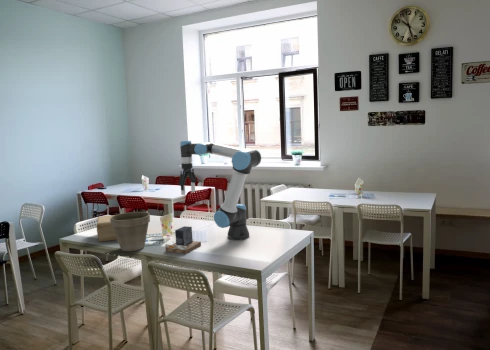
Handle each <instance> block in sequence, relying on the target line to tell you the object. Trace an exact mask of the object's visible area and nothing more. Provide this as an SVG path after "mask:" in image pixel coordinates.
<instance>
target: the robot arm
mask: <svg viewBox="0 0 490 350" xmlns="http://www.w3.org/2000/svg"><path fill="white" fill-rule="evenodd" d="M179 144H180V160H181V169H182V170H180V175H179V180H178V186H180V194H181V196H186V186H185V183H186V180H187V178H189V180H190V192H193V193H194V192H196V184H195V183H197V177H196V174H195V169H194V168H193V155H195V156H196V155H199V156H202V155H205V154H206V155H207V154H211V155H216V156H219V157H224V158H225V157H226V158H228V159H231V163H232V170H233V173H232V175H231V178H230V182H229V185H228V189H227V192H226V195H225V198H224V201H223V203H221V204H220V206H219V209H218V210H217V211H215V213H214V214H213V219H214V220H213V221H214V223H215V224H216V226H217V227H219V228H222V229H224V228H228V231H227V238H228V239H229V240H235V241H237V240H240V239H241V240H246V239H249V238H250V232H249V229H248V226H247V207H246V205H245V204H243V203H239V200H240V196H241V193H242V190H243V188H244V185H245V182H246V178H247V176H248V175H250V174H251V171H252V168H255V167H257V166H259V165H260V163H261V161H262V155H261V152H260V151H258V150H257V149H255V148H240V147H234V146H229V145H225V144H224V145H223V144H219V143H216V142H214V141H209V142H200V143H192V141H191V140H181V141H180V143H179ZM248 237H249V238H248ZM245 238H246V239H245Z"/></svg>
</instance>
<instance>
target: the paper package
mask: <svg viewBox="0 0 490 350" xmlns="http://www.w3.org/2000/svg"><path fill="white" fill-rule="evenodd" d="M114 215H115V214H114ZM114 215H111V214H110V215H103V216H98V217H97V223H96V234H97V235H96V236H97V241H98V242H101V243H102V242H108V241H118V240H117V237H116V234H115V231H114V229H113V227H112V226H111V222H110V218H111V217H112V216H114Z"/></svg>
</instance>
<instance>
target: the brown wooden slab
mask: <svg viewBox="0 0 490 350" xmlns="http://www.w3.org/2000/svg"><path fill="white" fill-rule="evenodd" d="M201 246H202V242H201V241H196V240H193V242H192V243H190V244H189V245H187V246H180V245H176V242H173V244H172V243H171V244H170V243H169V244H168V243H166V244H165V245H164V247H165V252H167V253H176V254H184V255H185V254H188V253H190V252H192V251H194V250H196V249H197V248H200V247H201Z"/></svg>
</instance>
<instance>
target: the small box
mask: <svg viewBox="0 0 490 350" xmlns="http://www.w3.org/2000/svg"><path fill="white" fill-rule="evenodd" d="M192 229H193V228H192V226H181V227H179V228H177V229H175V230H174V233H175V243H176V245H180V246H187V245H189V244H190V243H192V242H193V241H194V240H193V230H192Z"/></svg>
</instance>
